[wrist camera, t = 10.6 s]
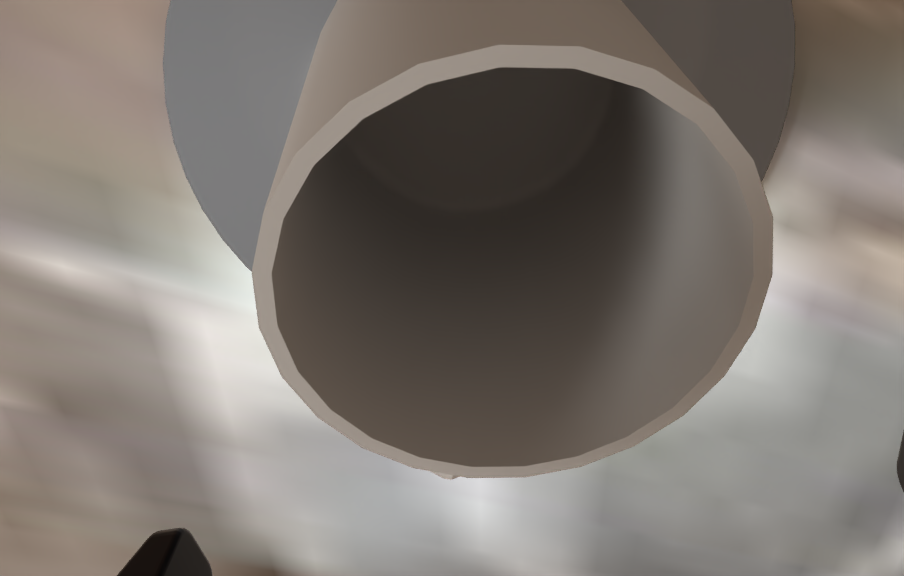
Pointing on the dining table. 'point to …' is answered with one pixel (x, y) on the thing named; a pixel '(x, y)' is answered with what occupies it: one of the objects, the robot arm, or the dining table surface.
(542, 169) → the cup
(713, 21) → the saucer
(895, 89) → the dining table surface
